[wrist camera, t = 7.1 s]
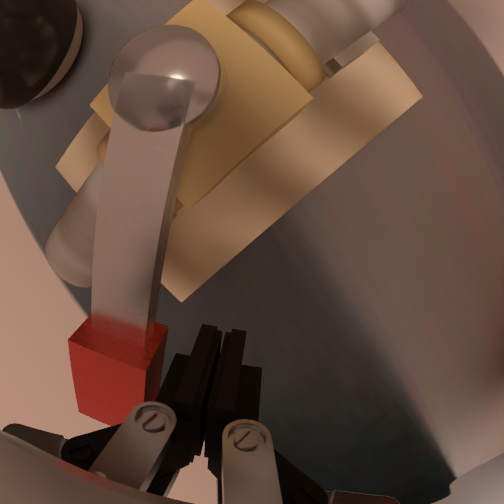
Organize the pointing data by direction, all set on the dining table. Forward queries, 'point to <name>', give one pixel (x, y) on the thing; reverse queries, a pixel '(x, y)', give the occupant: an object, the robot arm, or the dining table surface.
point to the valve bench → (268, 164)
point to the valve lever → (140, 214)
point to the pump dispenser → (36, 47)
